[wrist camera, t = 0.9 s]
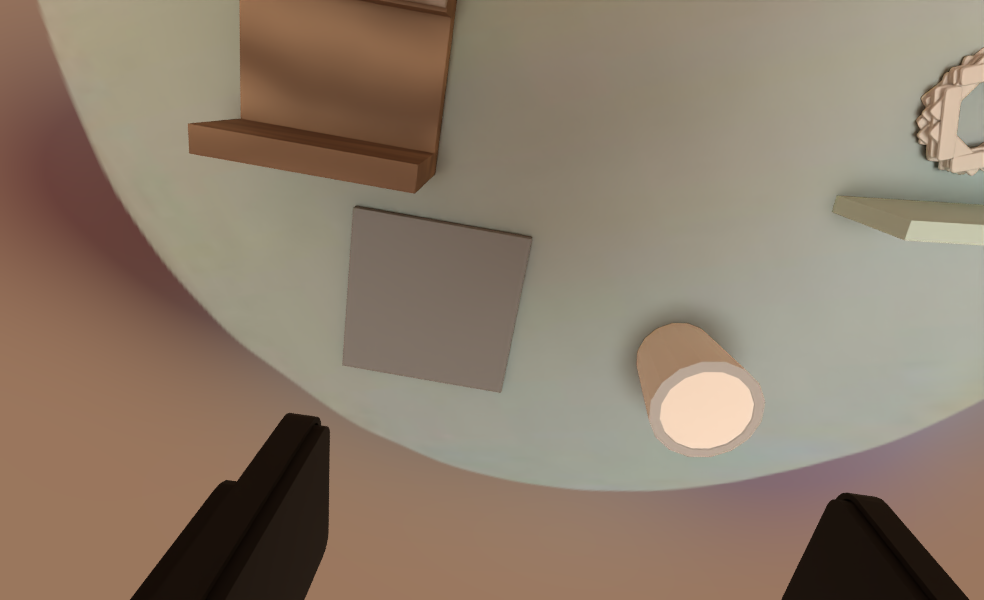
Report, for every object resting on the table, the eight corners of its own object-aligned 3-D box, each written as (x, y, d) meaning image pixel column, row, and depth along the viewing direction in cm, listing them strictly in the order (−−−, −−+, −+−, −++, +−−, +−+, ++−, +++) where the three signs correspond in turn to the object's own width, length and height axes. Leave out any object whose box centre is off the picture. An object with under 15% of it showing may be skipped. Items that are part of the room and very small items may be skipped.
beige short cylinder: (616, 389, 40) (635, 448, 33) (642, 306, 37) (668, 352, 30) (706, 406, 40) (742, 467, 33) (738, 324, 37) (783, 373, 31)
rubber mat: (356, 205, 35) (353, 207, 35) (531, 237, 36) (532, 239, 35) (344, 361, 40) (342, 365, 39) (501, 388, 40) (500, 392, 39)
